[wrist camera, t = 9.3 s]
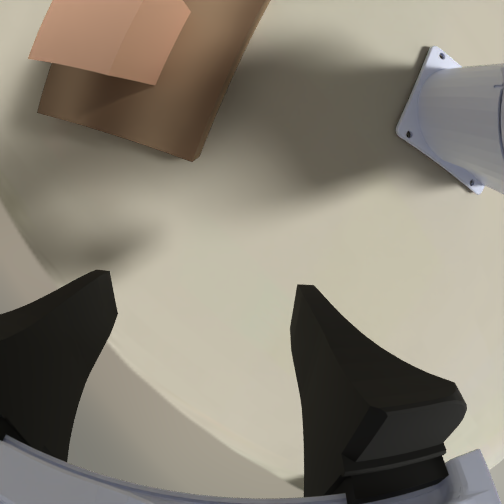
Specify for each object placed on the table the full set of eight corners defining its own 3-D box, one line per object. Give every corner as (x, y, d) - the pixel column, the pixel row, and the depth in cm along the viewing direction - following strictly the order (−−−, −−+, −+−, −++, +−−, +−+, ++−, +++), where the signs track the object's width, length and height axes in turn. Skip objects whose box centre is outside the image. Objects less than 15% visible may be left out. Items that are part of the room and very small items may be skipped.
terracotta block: (191, 11, 13) (161, -30, 7) (155, 85, 15) (108, 75, 9) (120, -2, 12) (72, -34, 7) (88, 67, 14) (27, 58, 9)
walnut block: (271, 1, 15) (273, -16, 12) (201, 155, 19) (191, 162, 17) (118, -29, 13) (102, -43, 10) (60, 110, 18) (37, 112, 15)
